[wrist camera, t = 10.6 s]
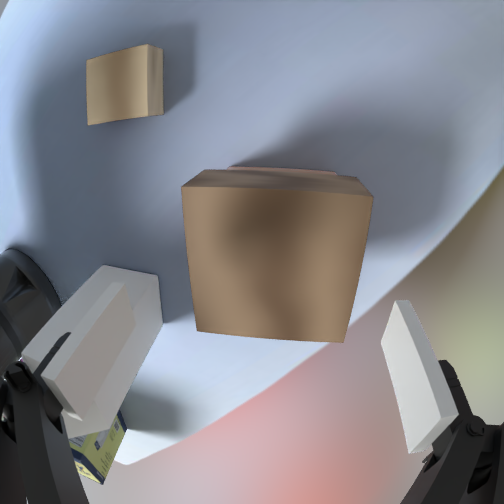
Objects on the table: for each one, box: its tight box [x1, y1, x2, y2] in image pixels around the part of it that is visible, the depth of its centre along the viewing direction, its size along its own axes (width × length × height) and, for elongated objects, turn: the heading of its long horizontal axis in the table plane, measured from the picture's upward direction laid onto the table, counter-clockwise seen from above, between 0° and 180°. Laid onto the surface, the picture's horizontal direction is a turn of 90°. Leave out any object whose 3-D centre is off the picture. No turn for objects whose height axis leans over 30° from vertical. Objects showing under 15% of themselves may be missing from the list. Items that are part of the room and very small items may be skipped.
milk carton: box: [21, 265, 163, 439], centre depth 23 cm, size 7×7×19 cm
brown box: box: [181, 170, 373, 343], centre depth 19 cm, size 10×10×4 cm
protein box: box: [69, 410, 127, 485], centre depth 41 cm, size 10×16×16 cm
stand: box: [86, 44, 164, 125], centre depth 20 cm, size 6×6×3 cm
